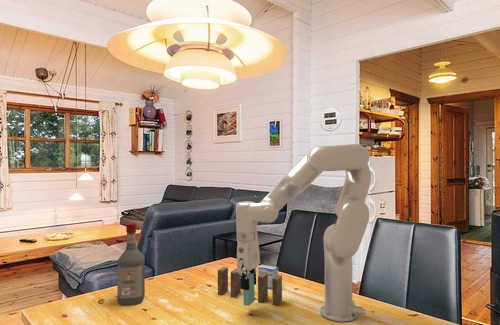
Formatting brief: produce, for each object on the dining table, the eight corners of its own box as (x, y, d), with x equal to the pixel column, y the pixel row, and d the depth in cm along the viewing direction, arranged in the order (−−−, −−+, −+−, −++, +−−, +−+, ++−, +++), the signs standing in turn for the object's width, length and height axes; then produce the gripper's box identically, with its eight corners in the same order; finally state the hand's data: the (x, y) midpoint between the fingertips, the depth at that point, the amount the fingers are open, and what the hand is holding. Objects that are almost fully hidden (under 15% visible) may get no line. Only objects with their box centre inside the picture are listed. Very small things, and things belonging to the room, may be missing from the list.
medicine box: (257, 286, 148) (257, 266, 148) (262, 283, 152) (261, 264, 152) (274, 290, 145) (274, 269, 145) (278, 286, 148) (278, 266, 148)
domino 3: (254, 300, 125) (253, 273, 125) (248, 306, 120) (247, 277, 120) (249, 299, 126) (249, 272, 126) (243, 305, 121) (242, 276, 121)
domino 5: (282, 301, 133) (282, 275, 133) (277, 306, 128) (277, 279, 128) (277, 300, 134) (277, 274, 134) (272, 305, 129) (272, 278, 129)
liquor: (141, 305, 129) (141, 225, 129) (116, 306, 128) (115, 226, 128) (145, 295, 139) (145, 221, 139) (122, 296, 137) (121, 222, 137)
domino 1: (228, 291, 143) (228, 267, 143) (221, 295, 139) (221, 270, 139) (223, 290, 144) (223, 266, 144) (217, 294, 140) (217, 270, 140)
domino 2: (240, 293, 141) (240, 269, 141) (234, 297, 136) (234, 272, 136) (236, 292, 141) (236, 268, 141) (230, 297, 137) (230, 272, 137)
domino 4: (267, 298, 135) (267, 273, 135) (262, 303, 131) (262, 277, 131) (263, 297, 136) (263, 272, 136) (257, 302, 132) (257, 276, 132)
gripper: (245, 242, 114) (247, 296, 114) (266, 232, 129) (267, 280, 129) (226, 240, 117) (227, 293, 117) (248, 231, 132) (249, 278, 132)
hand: (248, 286), depth 123 cm, fingers closed on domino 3, 4 cm apart
